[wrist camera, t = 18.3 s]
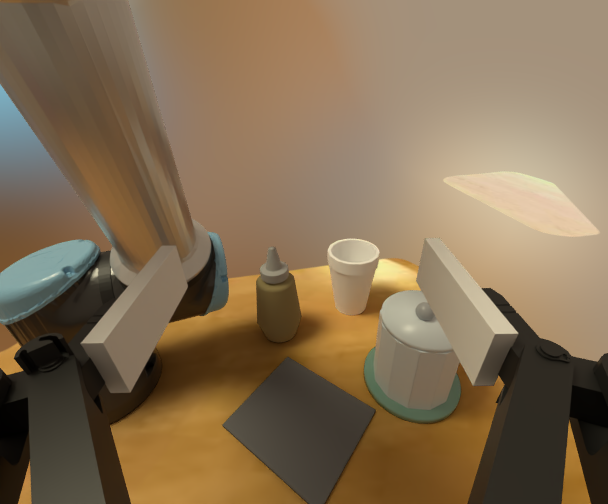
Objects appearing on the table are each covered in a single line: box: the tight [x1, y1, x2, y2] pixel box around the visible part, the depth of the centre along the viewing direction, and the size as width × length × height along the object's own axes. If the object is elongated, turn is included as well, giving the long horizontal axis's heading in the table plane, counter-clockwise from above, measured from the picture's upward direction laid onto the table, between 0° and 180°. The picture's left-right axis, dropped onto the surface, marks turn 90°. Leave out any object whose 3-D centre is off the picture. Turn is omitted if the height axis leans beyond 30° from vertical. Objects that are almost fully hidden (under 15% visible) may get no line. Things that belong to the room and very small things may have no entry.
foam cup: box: [328, 239, 380, 315], centre depth 58 cm, size 10×9×13 cm
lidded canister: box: [373, 290, 460, 410], centre depth 42 cm, size 11×11×14 cm
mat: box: [223, 357, 376, 504], centre depth 41 cm, size 16×14×1 cm
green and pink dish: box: [364, 346, 461, 424], centre depth 45 cm, size 14×14×5 cm
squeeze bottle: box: [256, 247, 301, 343], centre depth 51 cm, size 8×8×18 cm
